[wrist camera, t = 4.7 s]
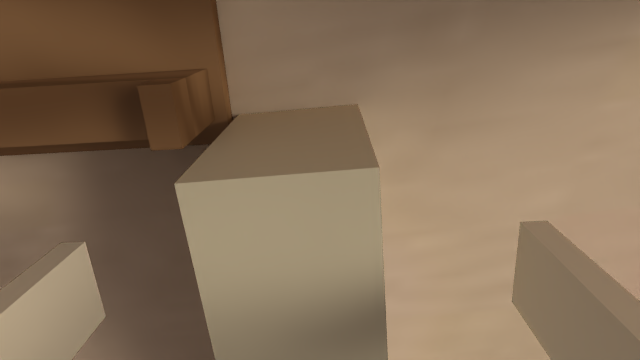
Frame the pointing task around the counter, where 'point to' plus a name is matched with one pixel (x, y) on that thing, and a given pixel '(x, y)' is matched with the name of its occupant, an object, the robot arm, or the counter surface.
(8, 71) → the brown wooden frame
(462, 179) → the counter surface
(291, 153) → the clay bar
